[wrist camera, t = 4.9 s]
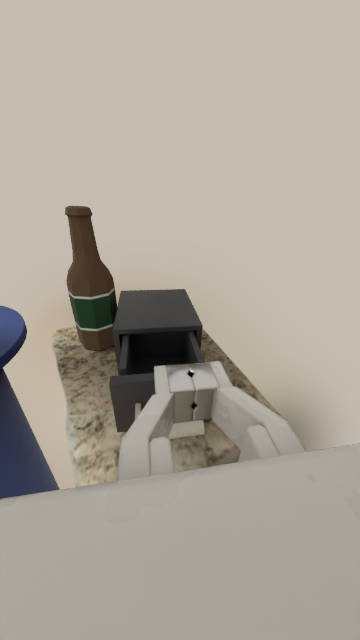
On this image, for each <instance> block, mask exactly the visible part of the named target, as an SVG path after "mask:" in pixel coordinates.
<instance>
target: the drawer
mask: <svg viewBox="0 0 360 640" xmlns="http://www.w3.org/2000/svg"><path fill="white" fill-rule="evenodd" d="M204 362H205V361H204V359H203V356H202V354H201V351H200V349H199V346H198V343H197V341H196V338H195V336H194V333H193V331H192V330H191V331H173V332H155V333H137V334H123V341H122V348H121V356H120V364H119V374H120V376H111V378H110V384H109V385H110V391H111V397H112V403H113V409H114V415H115V420H116V426H117V432H125V431H128V430H129V428H130V427H131V425H132V424H133V423H134V421H135V420H136V418H137V417H138V415H139V414H140V412H141V411H142V410H143V408H144V407H145V405H146V404H147V402H148V401H149V399H150V398H151V397H152V395H155V383H154V366H164V365H165V366H166V365H178V364H193V363H204ZM207 421H210V419H209V420H198V421H189V422H182V423H176V424H173V427H172V429H171V431H170V434H169V436H168V439H173V438H181V437H188V436H196V435H204V433H205V427H204V422H207Z"/></svg>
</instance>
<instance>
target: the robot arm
mask: <svg viewBox="0 0 360 640" xmlns="http://www.w3.org/2000/svg"><path fill="white" fill-rule="evenodd" d="M154 383H155V395H152V397H151V398H150V399H149V401H148V402H147V404H146V405H145V407H144V408H143V410H142V411H141V412H140V414H139V415H138V417H137V418H136V420H135V421H134V423H133V424H132V425H131V427H130V428H129V430H128V431H127V433H126V434H125V436H124V437H123V439H122V440H121V443H120V454H119V466H118V477H117V481H114V482H107V483H101V484H94V485H88V486H82V487H75V488H69V489H63V490H56V491H49V492H43V493H36V494H30V495H23V496H17V497H11V498H4V499H0V640H360V443H359V444H353V445H346V446H341V447H333V448H328V449H321V450H315V451H308V452H307V451H306V450H305V448H304V446H303V445H302V443H301V442H300V440H299V439H298V437H297V436H296V434H295V433H294V431H293V430H292V428H291V426H290V425H289V424H288V422H287V420H285V419H284V418H282V417H281V416H279V415H278V414H276V413H275V412H273V411H272V410H270V409H269V408H267V407H266V406H264V405H263V404H261V403H260V402H258V401H257V400H256V399H254V398H253V397H251V396H250V395H248V394H247V393H245V392H244V391H242V390H241V389H239V388H238V387H233V386H232V384H231V382H230V380H229V378H228V376H227V374H226V372H225V370H224V368H223V366H222V364H221V362H220V361H213V362H204V363H193V364H178V365H166V366H165V365H164V366H154ZM209 419H212V421H213V422H214V423H215V424H216V425H217V426H218V427H219V428H220V429H221V430H222V431H223V432H224V433H225V434H226V435H227V436H228V437H229V438H230V439H231V441H232V442H233V443H234V444H235V445H236V446H237V447H238V448H239V449H240V450H241V453H240V456H239V459H238V462H237V463H230V464H224V465H217V466H211V467H204V468H198V469H191V470H185V471H178V472H174V467H173V459H172V451H171V444H170V439H168V436H169V434H170V431H171V429H172V427H173V424H176V423H182V422H189V421H198V420H209Z"/></svg>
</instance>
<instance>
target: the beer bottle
mask: <svg viewBox="0 0 360 640" xmlns="http://www.w3.org/2000/svg"><path fill="white" fill-rule="evenodd" d="M65 214H66V215H67V216H68V219H69V227H70V235H71V242H72V249H73V262H72V265H71V267H70V269H69V271H68V275H67V287H68V292H69V297H70V301H71V306H72V310H73V314H74V318H75V323H76V327H77V332H78V335H79V339H80V341H81V343H82V344H83V346H84V347H85V348H86V349H88V350H100V351H101V350H104V349H106V348H109V347H112V346H114V337H113V326H114V321H115V316H116V312H117V304H116V295H115V287H114V282H113V277H112V275H111V274H110V272H109V270H108V268H107V267H106V266H105V265H104V264H103V263H102V261H101V260H100V257H99V254H98V250H97V246H96V241H95V236H94V231H93V226H92V222H91V216H92V212H91V210H90V208H88V207H84V206H83V207H82V206H68V207H66V209H65Z"/></svg>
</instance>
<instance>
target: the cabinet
mask: <svg viewBox="0 0 360 640" xmlns="http://www.w3.org/2000/svg"><path fill="white" fill-rule="evenodd" d="M191 330H192V331H193V333H194V336H195V338H196V341H197V343H198V346H199V349H200V346H201V336H202V323H201V321H200V320H199V317H198V315H197V313H196V311H195V309H194V307H193V305H192V303H191V301H190V299H189V297H188V295H187V293H186V291H185V289H177V290H140V291H121V294H120V298H119V303H118V307H117V312H116V316H115V321H114V326H113V337H114V345H115V352H116V359H117V366H118V374H119V364H120V356H121V348H122V341H123V334H137V333H155V332H173V331H191ZM119 376H120V374H119Z"/></svg>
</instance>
